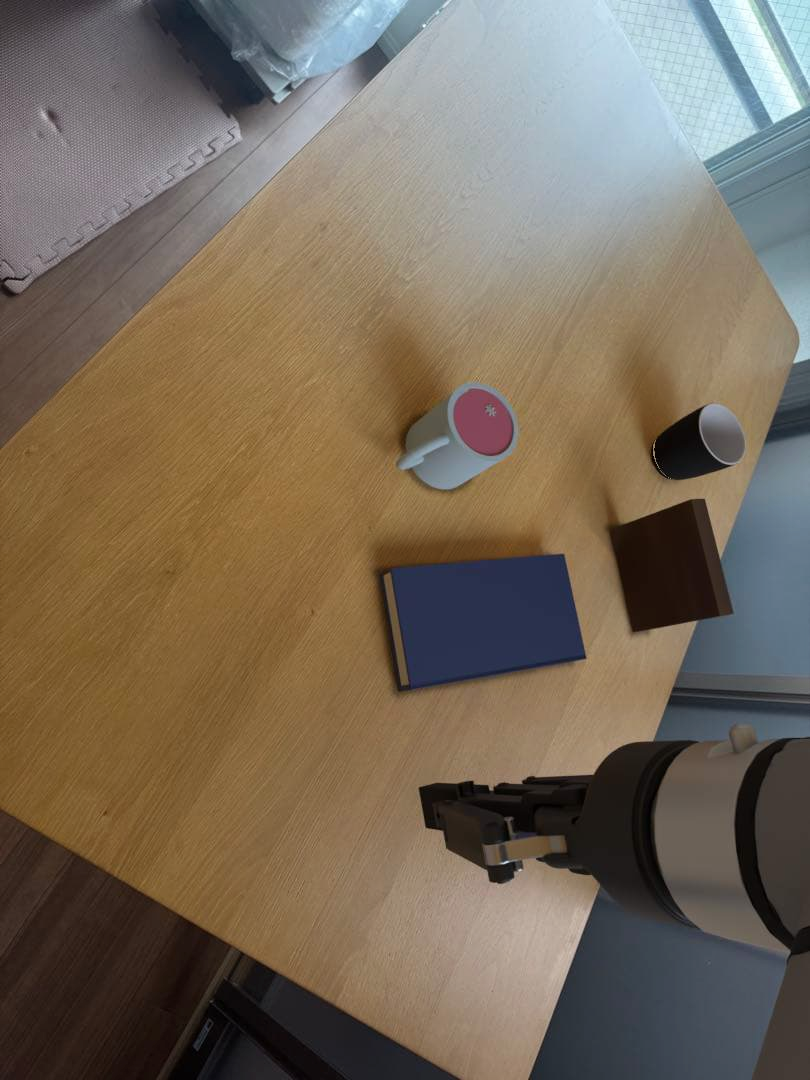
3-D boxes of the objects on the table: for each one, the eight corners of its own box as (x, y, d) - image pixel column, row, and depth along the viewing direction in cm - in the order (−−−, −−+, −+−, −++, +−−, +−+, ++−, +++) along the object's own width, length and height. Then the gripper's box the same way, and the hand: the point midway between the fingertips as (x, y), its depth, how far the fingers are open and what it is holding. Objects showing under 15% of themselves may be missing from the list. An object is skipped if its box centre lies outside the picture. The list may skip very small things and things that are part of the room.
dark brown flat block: (632, 632, 95) (720, 615, 83) (609, 529, 98) (691, 498, 86) (645, 630, 96) (734, 613, 84) (622, 528, 99) (705, 498, 87)
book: (398, 691, 78) (411, 689, 76) (379, 573, 81) (391, 567, 78) (570, 661, 90) (586, 659, 87) (549, 558, 92) (564, 553, 89)
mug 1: (450, 408, 91) (494, 373, 82) (483, 475, 91) (531, 446, 82) (361, 441, 84) (400, 406, 75) (397, 513, 84) (439, 486, 75)
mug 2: (673, 500, 105) (732, 478, 96) (633, 455, 104) (689, 428, 95) (703, 450, 111) (761, 424, 102) (666, 407, 110) (722, 377, 101)
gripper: (780, 714, 34) (496, 732, 54) (571, 774, 28) (336, 769, 48) (826, 882, 33) (517, 837, 53) (617, 986, 26) (355, 890, 46)
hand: (431, 805), depth 50 cm, fingers closed
